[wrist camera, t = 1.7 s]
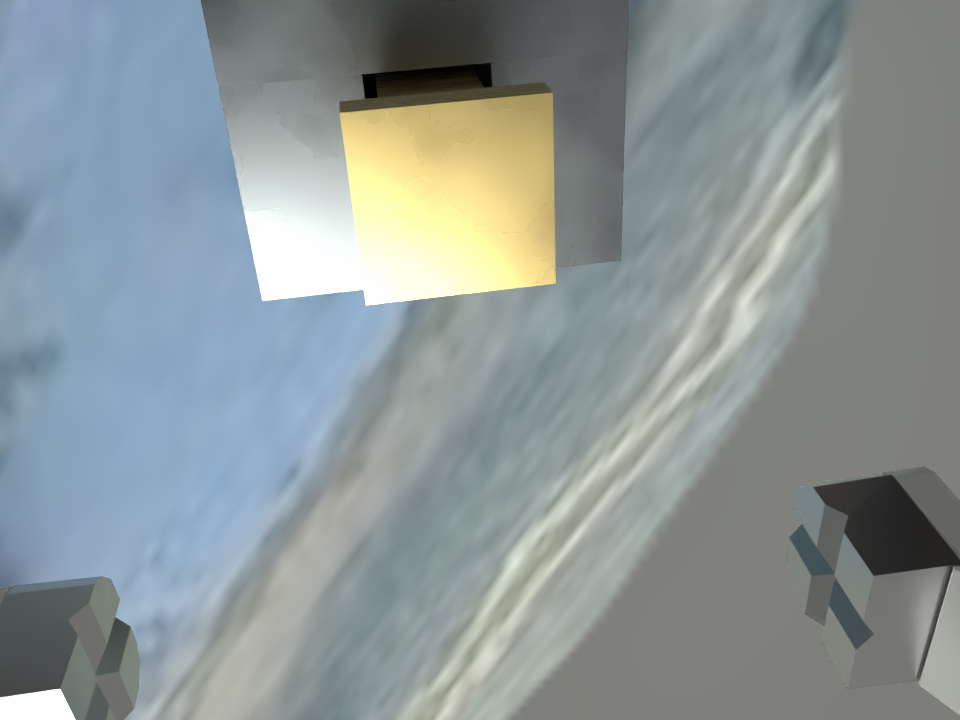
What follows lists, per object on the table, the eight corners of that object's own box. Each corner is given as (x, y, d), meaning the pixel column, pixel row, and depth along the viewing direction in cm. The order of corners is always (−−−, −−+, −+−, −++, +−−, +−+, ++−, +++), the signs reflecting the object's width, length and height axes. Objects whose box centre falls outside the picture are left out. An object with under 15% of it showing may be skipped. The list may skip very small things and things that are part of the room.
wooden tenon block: (508, 185, 30) (555, 283, 24) (358, 200, 30) (366, 305, 23) (502, 29, 28) (552, 92, 21) (337, 44, 27) (339, 112, 21)
